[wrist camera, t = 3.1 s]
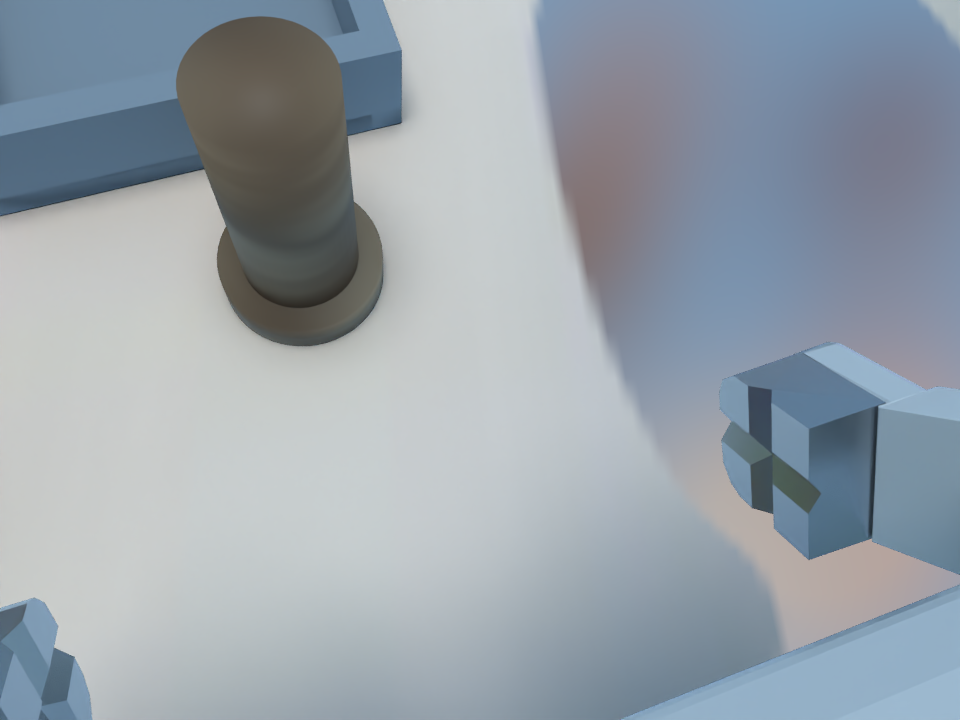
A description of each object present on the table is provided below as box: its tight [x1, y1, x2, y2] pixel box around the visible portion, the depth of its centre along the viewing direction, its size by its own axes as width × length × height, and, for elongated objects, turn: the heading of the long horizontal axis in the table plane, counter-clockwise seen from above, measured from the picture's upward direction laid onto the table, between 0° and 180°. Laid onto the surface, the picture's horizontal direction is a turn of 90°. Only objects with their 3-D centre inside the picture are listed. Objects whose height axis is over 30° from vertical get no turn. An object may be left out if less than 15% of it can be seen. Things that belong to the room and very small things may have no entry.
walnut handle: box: [176, 16, 383, 346], centre depth 22 cm, size 5×5×9 cm
